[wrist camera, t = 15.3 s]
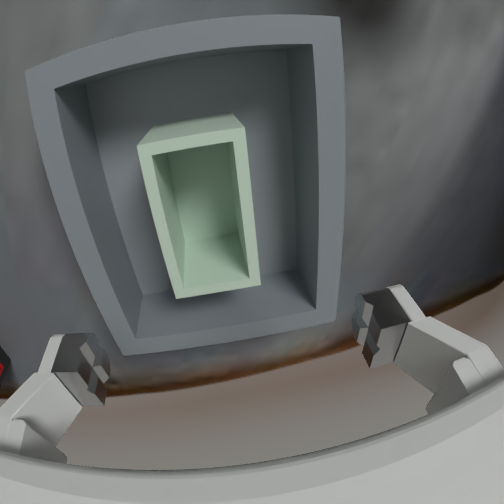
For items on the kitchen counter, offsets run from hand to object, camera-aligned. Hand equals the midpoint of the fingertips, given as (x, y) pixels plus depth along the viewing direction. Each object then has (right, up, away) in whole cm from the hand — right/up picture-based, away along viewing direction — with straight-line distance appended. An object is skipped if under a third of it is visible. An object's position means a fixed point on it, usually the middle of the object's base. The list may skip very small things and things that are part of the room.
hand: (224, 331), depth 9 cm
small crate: (-2, +7, +12) cm, 14 cm away
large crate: (-3, +7, +12) cm, 15 cm away
